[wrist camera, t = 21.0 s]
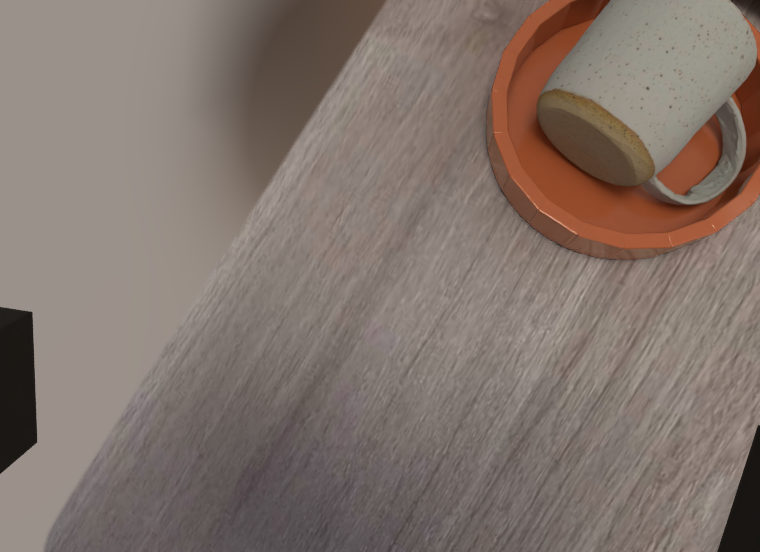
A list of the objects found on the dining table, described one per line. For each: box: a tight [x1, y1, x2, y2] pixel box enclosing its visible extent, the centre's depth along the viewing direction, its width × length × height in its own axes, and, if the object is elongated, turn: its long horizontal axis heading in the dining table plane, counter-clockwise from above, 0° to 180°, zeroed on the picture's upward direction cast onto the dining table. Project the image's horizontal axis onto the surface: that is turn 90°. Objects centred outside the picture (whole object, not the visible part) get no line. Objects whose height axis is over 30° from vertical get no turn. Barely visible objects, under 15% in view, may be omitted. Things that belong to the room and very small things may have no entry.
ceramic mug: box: [536, 0, 757, 206], centre depth 32 cm, size 11×8×8 cm
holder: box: [486, 0, 760, 260], centre depth 35 cm, size 15×15×4 cm
